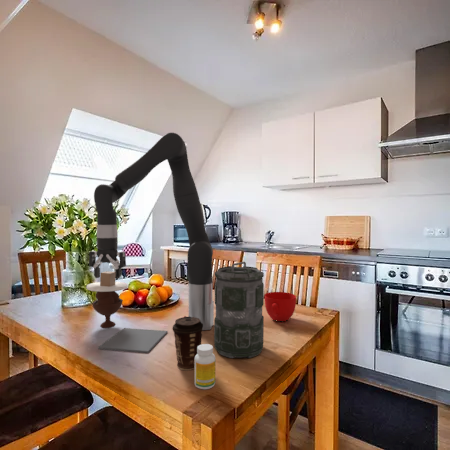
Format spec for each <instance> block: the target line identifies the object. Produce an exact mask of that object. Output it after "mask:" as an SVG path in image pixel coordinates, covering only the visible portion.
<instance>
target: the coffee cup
mask: <svg viewBox="0 0 450 450" xmlns="http://www.w3.org/2000/svg"><path fill="white" fill-rule="evenodd" d="M202 328H203V324H202V323H201V320H200V319H199V318H197V317H190V316H189V315H188V316H182V317H180V318H177V319H175V323H174V324H173V325H172V328H171V330H172V331H173V337H174V345H175V346H174V347H175V354H176V355H175V356H176V361H177V363H176V366H177V368H178V369H179V370H181V371H191V370H194V359H195V356H196V354H198V353H197V347H198V346H199V345H201V344H202V337H203V334H202V333H203V330H202Z"/></svg>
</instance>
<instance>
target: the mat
mask: <svg viewBox="0 0 450 450" xmlns="http://www.w3.org/2000/svg"><path fill="white" fill-rule="evenodd" d="M167 334H168V330H159V329H158V330H157V329H145V328H143V329H142V328H129V327H128V328H127V327H124V328H122V329H121V330H120V331H118V332H117V333H115V334H114V335H113V336H111V337H110V338H108V339H107V340H105V342H103V343H102V344H101V345H99V346H98V347H97V349H98V350H107V351H118V352H129V353H130V352H131V353H142V354H149V353H150V352H151V351H152V350H153V349H154V347H155V346H156V345H157V344H158V343H159V342H161V340H162V339H163V338H164V337H165V336H166V335H167Z"/></svg>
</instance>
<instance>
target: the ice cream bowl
mask: <svg viewBox="0 0 450 450" xmlns="http://www.w3.org/2000/svg"><path fill="white" fill-rule="evenodd" d="M95 298H96V300H94V301H92V303H91V304H92V307H93V310H95V312H97V313H98V315H99V314H100V315H101V316H104V317H105V320H104V321H103V322H102V323H101V324H100V327H101V328H103V329H107V328H108V329H109V328H112V327H115V326H116V323H115V322H114V321H112V320H111V316H112V315H114V314H115V313H117V311H118V310H119V309H120V308H121V306H122V304H123V301H124V300H123V299H121V298H120V294H119V293H118V292H117V291H110V292H98V291H96V293H95Z"/></svg>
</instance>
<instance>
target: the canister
mask: <svg viewBox="0 0 450 450" xmlns="http://www.w3.org/2000/svg"><path fill="white" fill-rule="evenodd" d="M240 265H243V266H240ZM214 276H215V282H214V306H215V316H214V325H213V328H214V329H213V333H214V335H213V338H214V339H213V343H214V348H215V350H216V351H217V352H218V354H219V355H221V356H223V357H226V358H229V359H233V358H234V359H235V358H247V359H251V358H254V357H257V356H258V355H260V354H261V353H262V350H263V349H264V332H265V331H264V329H265V328H264V321H265V319H264V315H263V306H264V304H265V294H264V293H265V292H264V291H265V290H264V289H265V288H264V287H265V286H264V285H265V284H264V282H263V278H264V276H265V274H264V272H263V271H261V270H260V269H258V268H257V267H255V266H247V262H245V261H240V262H236V263H232V265H230V266H221V267H219V268H217V270H216V271H214Z"/></svg>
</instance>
